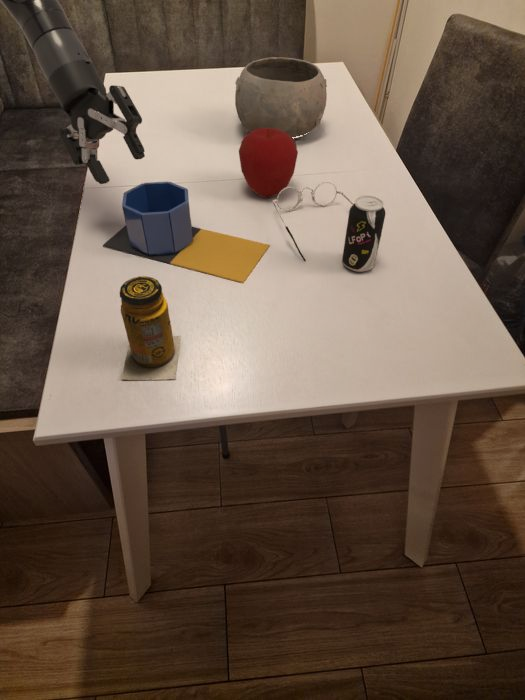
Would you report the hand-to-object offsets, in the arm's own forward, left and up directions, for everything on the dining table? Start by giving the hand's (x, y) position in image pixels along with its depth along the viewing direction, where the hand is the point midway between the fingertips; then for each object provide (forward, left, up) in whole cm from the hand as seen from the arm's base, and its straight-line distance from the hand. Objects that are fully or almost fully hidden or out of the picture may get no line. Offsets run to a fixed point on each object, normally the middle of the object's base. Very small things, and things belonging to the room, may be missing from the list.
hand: (122, 170), depth 79 cm
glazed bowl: (+5, +1, -14) cm, 14 cm away
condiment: (+3, -29, -14) cm, 33 cm away
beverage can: (+39, -11, -14) cm, 43 cm away
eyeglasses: (+35, +1, -14) cm, 37 cm away
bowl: (+34, +48, -14) cm, 61 cm away
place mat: (+9, -2, -14) cm, 17 cm away
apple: (+27, +17, -14) cm, 34 cm away
